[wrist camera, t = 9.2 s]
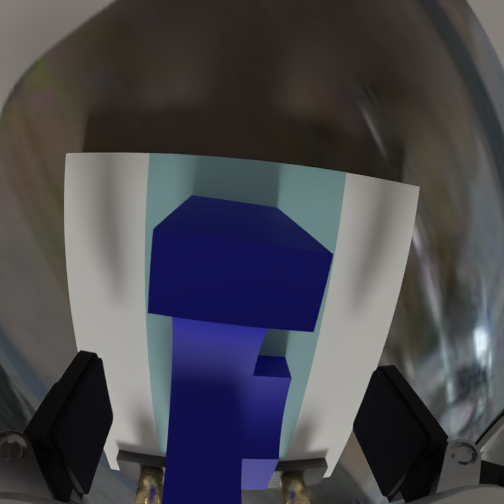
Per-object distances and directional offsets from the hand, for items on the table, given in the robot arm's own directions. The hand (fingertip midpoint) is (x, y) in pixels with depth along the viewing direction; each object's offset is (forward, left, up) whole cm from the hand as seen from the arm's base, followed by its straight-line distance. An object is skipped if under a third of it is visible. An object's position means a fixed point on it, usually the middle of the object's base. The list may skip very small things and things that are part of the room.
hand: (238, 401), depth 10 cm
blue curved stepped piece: (0, 0, -3) cm, 3 cm away
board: (0, +1, -5) cm, 5 cm away
